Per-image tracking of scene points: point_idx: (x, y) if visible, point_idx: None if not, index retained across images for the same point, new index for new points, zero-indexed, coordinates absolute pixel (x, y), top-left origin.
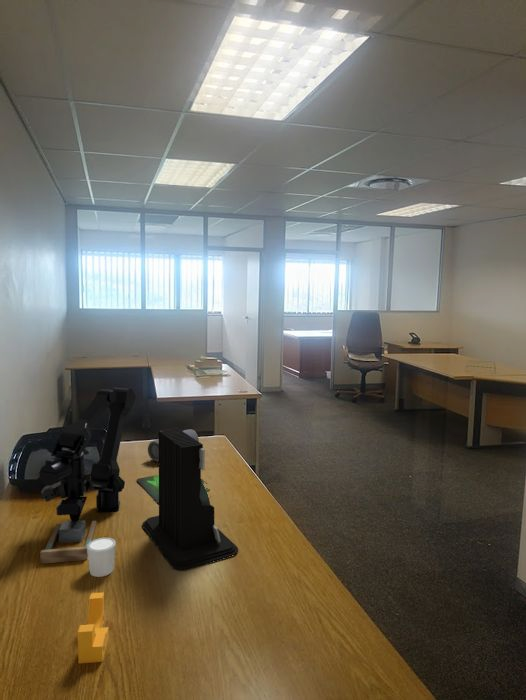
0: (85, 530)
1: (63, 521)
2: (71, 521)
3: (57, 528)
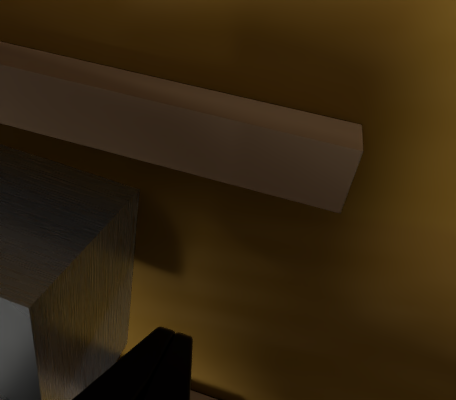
0: (110, 363)
1: (23, 306)
2: (23, 380)
3: (174, 149)
